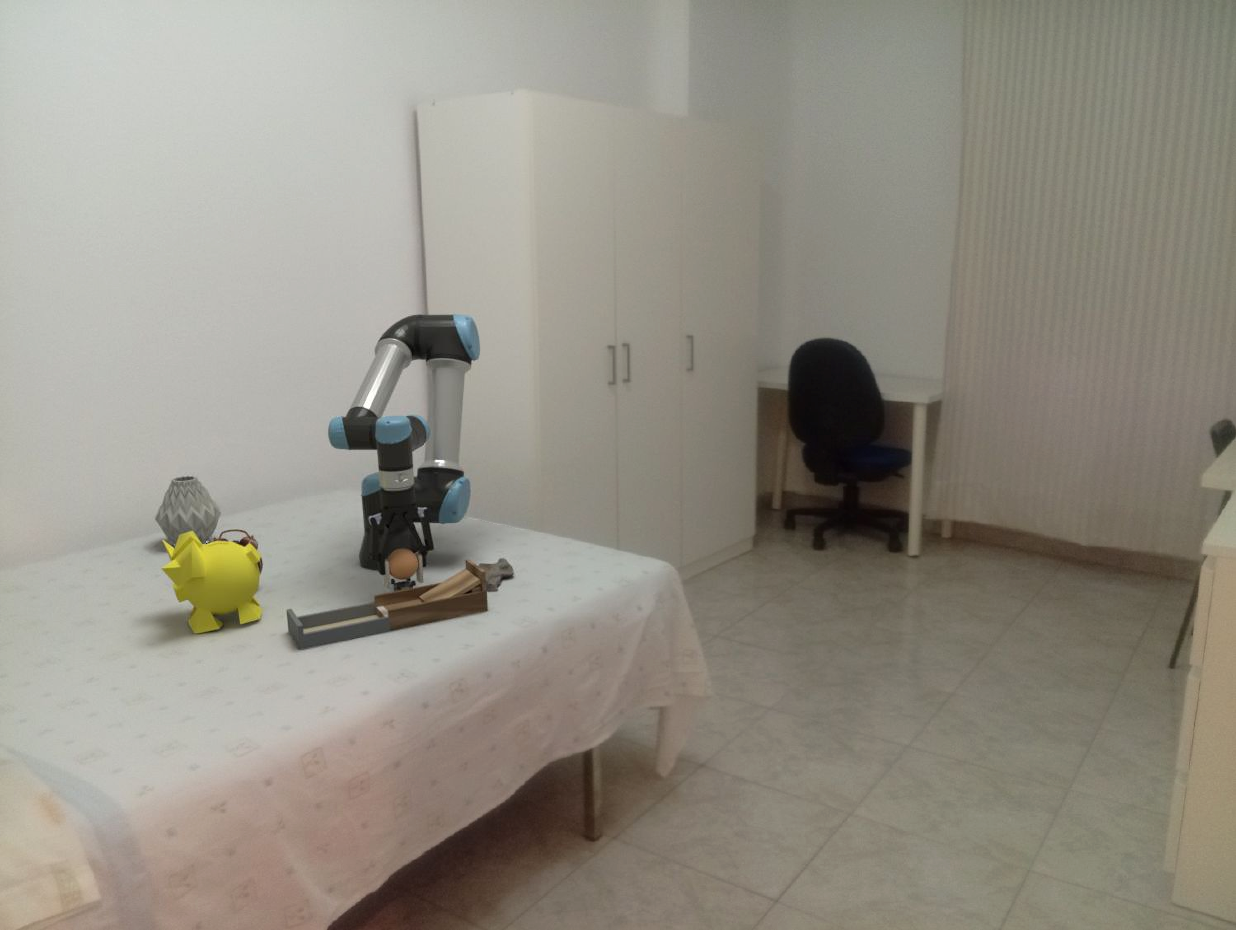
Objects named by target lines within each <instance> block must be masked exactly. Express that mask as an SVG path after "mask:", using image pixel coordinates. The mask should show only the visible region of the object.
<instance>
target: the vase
mask: <svg viewBox="0 0 1236 930" xmlns="http://www.w3.org/2000/svg"><path fill="white" fill-rule="evenodd" d="M170 481H171V483H170V484H169V486H168V489H167V490H166V491H165V492H164V496H163V499H162V504H161V505H160V506H159V507H158V510H157V513H156V514H155V518H154V520H155V521H156V523H157V525H158V526H159V527H160V528H161V531H162V532H163V534H164V535H165V536H166V538H167V539H168V540H169V541H170V542H172V545H174V544H175V545H176V543H177V540H178V537H179V535H180V534H184V533H187V532H190V531H194V533H195V534H196V536H197V537H198V539H199V540H200V542H201V543H202V544H205V543H206V541H209V542H210V538H211V537H212V536H213V534H214V533H215V531H216V529H217V526H218V523H219V519H220V517H221V514H222V511H221V508H220V507H219V506H218V504H217V502H216V501H215V500H214V499H212V497H211V494H210V492H209V491H208V488H206V487H205V486H204V485H203V484H202V482H201V481H200V480H198V476H194V475H191V476H190V475H187V476H180V477H179V476H178V477H177V476H176V478H172V479H171V480H170Z"/></svg>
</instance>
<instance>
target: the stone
mask: <svg viewBox="0 0 1236 930" xmlns="http://www.w3.org/2000/svg"><path fill="white" fill-rule="evenodd" d="M478 566H479V567H480V568H482V569H483V570H484V571H485V572H486V591H487V592H491V593H493V592H498V591H499V586H500V585H501V582H502V581H501V580H502V578H505V577H506V578H507V577H510V576H513V575H514V574H515V573H514V572H515V571H514V567H513V566H512V565H511V564H510V563H509V562H508V560H507V559H506V558H505V557H504V558H503V557H501V558H499V559H498V561H497V562H495V563H487V562H486V563H483V562H482V563H479V564H478Z"/></svg>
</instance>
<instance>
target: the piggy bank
mask: <svg viewBox="0 0 1236 930" xmlns="http://www.w3.org/2000/svg"><path fill="white" fill-rule="evenodd" d="M161 540H162V542H163V545H164V547H165V550H166V552H167V554H168V557H169V559H170V562H168V563H167V564H166V565H164V566H162V567H161V568H160V570H162V572H163V573H164V574H166V576H167V577H168V578H169V579H170V580H171V581H172V582H173V584H172V587H173V590H174V591H173V592H174V594H175V597H176V599H177V601H178V602H179V603H182V602H185V601H188V602H189V603H190V604H191V605H192V606H193V608H192V610H191V613H190V615H189V617H188V619H187V620H188V624H189V626H190V629H192V632H193V633H194V634H195V635H197V634H201V633H207V632H210V631H215V630H216V631H217V630H219V629H221V627H222V626H223V625H224V622H222V621H220V620H219V619H217V618H216V617H215V616H224V615H225V616H226V615H229V614H232V613H235V612H238V616H239V618H238V619H239V624H240V625H243V624H246V623H250V622H253V621H257V620H260V619H261V616H262V614H263V608H262V607H260V606H261V605H260V601H259V600H257V598H255V594H256V593H257V591H258V589H259V586H260V578H261V577H260V576H261V574H260V571H259V568H258V564H257V562H259V561H260V557H261V558H262V555H261V554H260V553H259V551H258V549H257V550H256V549H255V548H254V546H253V545H252V544H250V543H249V544H248V545H247V546H245V547H244V546H241V545H239V544H236V543H234V542H232V541H230V540H228V541H215V542H214V541H213V542H209V543H207V544H205V545H202V543H201V542H200V540H199V539H198V537H197V536H196V534H195V533H194V531H190V532H187V533H184V534H180V535H179V537H178V540H177V543H176V546H172V545H171V544H169V543H168V542H166V541H165V540H164V539H161Z"/></svg>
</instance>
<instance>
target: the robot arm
mask: <svg viewBox="0 0 1236 930" xmlns="http://www.w3.org/2000/svg"><path fill="white" fill-rule="evenodd" d="M480 342H481V341H480V336H479V332H478V327H477V324H476V322H475V321H474V319H473V317H472V316H470V315H468V314H456V313H454V314H421V313H420V314H411V315H408V316H405V317H404V318H401V319H400V320H397V321H396V322H395V323H394V324H392V325H390V327H388V328H387V329H386V330H385V332H383V334H382V335H381V336H380V337H379V339H378V341H377V343H376V345H375V347H374V356H375V357H374V358H373V361H372V363H371V365H370V366H369V368H368V371H367V373H366V375H365V377H364V379H363V380H362V382H361V385H360V386H359V388H358V391H357V392H356V395H355V397H354V399H353V402H352V403H351V406H350V407H349V409H348V411H347V413H346V415H345V416H343V415H340V416H335V417H333V418H331V420H330V421H329V424H328V428H327V429H328V430H327V435H328V436H327V437H328V441H329V443H330V445H331V446H332V447H333V448H334V449H337V450H345V451H346V450H347V451H376V452H377V454H376V455H377V463H378V464H377V467H378V472H374V473H371V474H369V475H366V476H365V477H364V478H362V480H361V494H360V497H361V504H362V515H363V516H362V517H363V518H362V519H363V529H364V533H363V534H364V535H363V538H362V541H361V545H360V550H359V555H358V560H359V565H360V566H361V567H363V568H366V569H369V570H370V569H371V570H377V571H378V573H379V575H380V576H382V580H383V581H382V582H383V587H384V588H385V589H386V590H387V591H388V590H391V589H392V584H391V580H390V579H391V575H390V571H389V561H388V560H387V559H388V557H389V555H390V554H391V553H392V552H393V551H395V550H397V549H408V550H410V551H412V552H413V553H414V554H415V555H416V557H417V559H418V569H417V571H416V573H415V574H416V576H415V577H416V581H417V582H418V583H420V584H424V582H425V581H424V568H427V565H428V564H427V555H428V552H429V551H433V550H434V549H435V547H434V541H433V535H432V530H431V529H432V528H431V524H441V525H445V524H456V523H459V522H461V521H462V520H463V519H464V517H465V515H466V514H467V511H468V508H469V505H470V500H471V491H472V490H471V481H470V479H469V478H467V477H466V476H465V471H464V470H463V468H462V467H461V466H460V464H459V462H460V461H459V460H460V447H461V436H462V435H461V433H462V431H461V430H462V422H463V421H462V420H463V419H462V416H463V404H464V402H463V401H464V392H465V380H466V379H465V375H466V374H467V373H468V372H469V371H471V369H472V362H473V361H474V362H475V361H477V360H479V357H480V355H481V354H480V353H481V343H480ZM418 360H422V361H423V360H425V366H426V367H427V368H428V369H429V370H430V383H429V395H428V396H429V397H428V407H427V409H428V410H427V419H425V418H424V417H423V416H421V415H418V414H410V415H409V414H407V415H406V416H404V415H387V416H383V415H384V412H385V410H386V408H387V406H388V404H389V401H390V399H391V397H392V395H393V392H394V391H395V388H396V387H397V384H398V382H399V380H400V377H401V375H402V373H403V372H404V370H405V369H407V368H408V367H409V366H410V365H411V364H412V361H418ZM424 445H425V448H424V459H423V460H424V461H423V463H421V464H420V465H419V466H418V467H417V474H416V476H415V475H414V473H415V472H414V457H413V454H414V453H413V452H415V451H416V450H418V449H420V448H421V447H423V446H424ZM416 523H417V524H421V530H422V531H421V532H422V535H423V541H424V543H423V541H422V538H421V536H420V535H419V532H418V530H417V527H416V525H415V524H416Z"/></svg>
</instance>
